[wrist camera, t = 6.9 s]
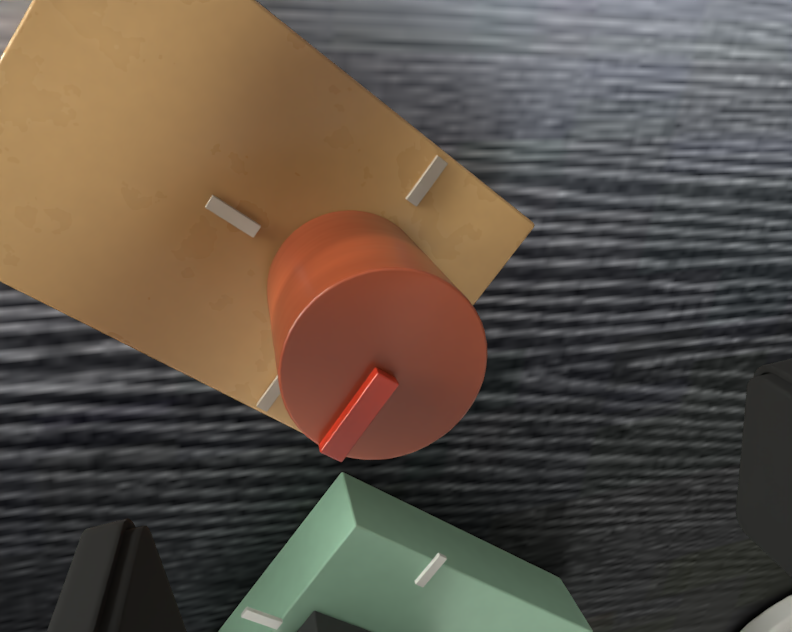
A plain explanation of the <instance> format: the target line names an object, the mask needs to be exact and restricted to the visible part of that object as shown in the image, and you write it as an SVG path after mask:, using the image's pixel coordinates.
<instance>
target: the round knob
mask: <svg viewBox="0 0 792 632" xmlns="http://www.w3.org/2000/svg"><path fill="white" fill-rule="evenodd" d="M267 301H268V309H269V316H270V324H271V331H272V338H273V346H274V353H275V360H276V368H277V375H278V383H279V388H280V393H281V397H282V400H283V403H284V406H285V408H286V410H287V412H288V414H289V416H290V418H291V419H292V420H293V422H294V423H295V425H296V426H297V427H298V428H299V429H300V430H301V431H302V432H303V433H304V434H305V435H306V436H307V437H308V438H309V439H311V440H312V441H313V442H315V443H316V444H317V445H319V449H320V452H321V453H322V454H325V455H327V456H329V457H331V458H333V459H335V460H337V461H340V462H343V460H344V459H345V457H349V458H355V459H363V460H380V459H390V458H395V457H399V456H403V455H406V454H409V453H412V452H415V451H417V450H420V449H422V448H424V447H426V446H428V445H430V444H431V443H433V442H435V441H437V440H438V439H439V438H441V437H442V436H444V435H445V434H446V433H448V432H449V431H450V430H451V429H452V428H453V427H454V426H455V425H456V424H457V423H458V422H459V421H460V420H461V419H462V418H463V416H464V415H465V414H466V413H467V411H468V410H469V408H470V407H471V406H472V404H473V402H474V400H475V399H476V397H477V395H478V393H479V390H480V388H481V385H482V382H483V379H484V375H485V371H486V364H487V341H486V336H485V331H484V328H483V325H482V322H481V319H480V317H479V315H478V313H477V311H476V309H475V308H474V307H473V305H472V304H471V302H470V301H469V300H468V299H467V297H466V296H465V295H464V294H463V293H462V292H461V291H460V290H459V289H458V288H457V287H456V286H455V285H454V284H453V283H452V282H451V281H450V280H449V278H448V277H447V276H446V275H445V274H444V273H443V272H442V271H441V270H440V269H439V268H438V267H437V266H436V265H435V264H434V263H433V262H432V260H431V259H430V258H429V257H428V256H427V255H426V254H425V253H424V252H423V251H422V250H421V249H420V248H419V247H418V246H417V245H416V244H415V242H414V241H413V240H412V239H411V238H410V237H409V236H408V235H407V234H406V233H405V232H404V231H403V230H402V229H401V228H399V227H398V226H397V225H396V224H394V223H393V222H391V221H389V220H387V219H386V218H383V217H381V216H379V215H376V214H373V213H369V212H364V211H356V210H345V211H337V212H331V213H328V214H324V215H321V216H319V217H316V218H314V219H312V220H310V221H308V222H307V223H305V224H303V225H302V226H300V227H299V228H298V229H297V230H295V231H294V232H293V233H292V234H291V235H290V236H289V237H288V238H287V239H286V240H285V241H284V243H283V244H282V245H281V247H280V248H279V250H278V252H277V253H276V255H275V257H274V259H273V262H272V264H271V267H270V270H269V274H268V279H267Z"/></svg>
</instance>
